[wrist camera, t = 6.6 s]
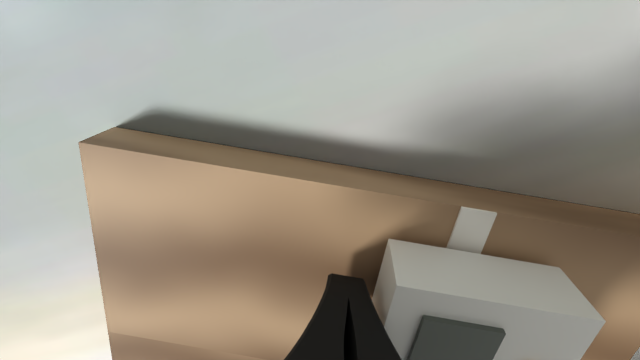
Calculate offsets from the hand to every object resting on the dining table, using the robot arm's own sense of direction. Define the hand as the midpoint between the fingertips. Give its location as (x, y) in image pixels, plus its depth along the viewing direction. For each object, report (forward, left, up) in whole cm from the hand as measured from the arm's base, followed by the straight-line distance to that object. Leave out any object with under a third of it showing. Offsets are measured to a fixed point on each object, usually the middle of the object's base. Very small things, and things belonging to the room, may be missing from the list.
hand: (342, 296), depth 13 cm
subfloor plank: (-3, -1, -3) cm, 4 cm away
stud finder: (0, -4, -1) cm, 4 cm away
